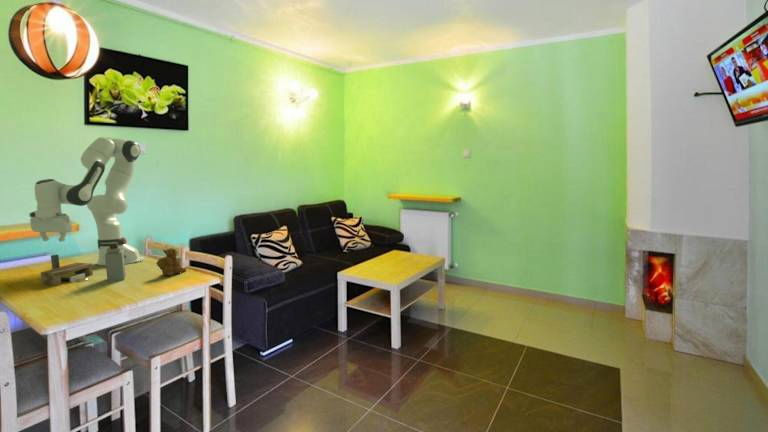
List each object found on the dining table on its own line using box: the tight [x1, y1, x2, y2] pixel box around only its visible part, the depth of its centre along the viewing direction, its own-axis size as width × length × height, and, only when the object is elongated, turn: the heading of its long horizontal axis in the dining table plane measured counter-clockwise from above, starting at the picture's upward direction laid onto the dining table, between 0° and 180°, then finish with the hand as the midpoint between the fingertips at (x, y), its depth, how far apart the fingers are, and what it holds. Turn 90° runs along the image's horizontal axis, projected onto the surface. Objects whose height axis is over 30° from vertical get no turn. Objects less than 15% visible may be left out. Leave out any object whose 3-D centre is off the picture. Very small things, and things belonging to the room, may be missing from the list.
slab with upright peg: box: [50, 254, 86, 283], centre depth 191 cm, size 14×7×12 cm, turn 80°
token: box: [76, 277, 89, 283], centre depth 191 cm, size 4×4×1 cm
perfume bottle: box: [105, 243, 127, 283], centre depth 192 cm, size 7×7×18 cm
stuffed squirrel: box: [155, 247, 188, 277], centre depth 202 cm, size 10×14×13 cm
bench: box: [40, 262, 94, 286], centre depth 192 cm, size 9×18×6 cm, turn 170°
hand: (53, 241), depth 191 cm, fingers open, 8 cm apart
